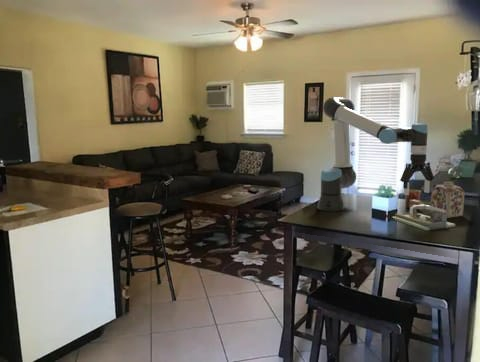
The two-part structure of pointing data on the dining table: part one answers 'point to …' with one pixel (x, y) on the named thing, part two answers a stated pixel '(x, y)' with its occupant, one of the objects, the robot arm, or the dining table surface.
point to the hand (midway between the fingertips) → (416, 193)
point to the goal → (434, 224)
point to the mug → (412, 196)
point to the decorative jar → (448, 199)
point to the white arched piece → (418, 205)
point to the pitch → (418, 221)
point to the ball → (422, 218)
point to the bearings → (441, 216)
